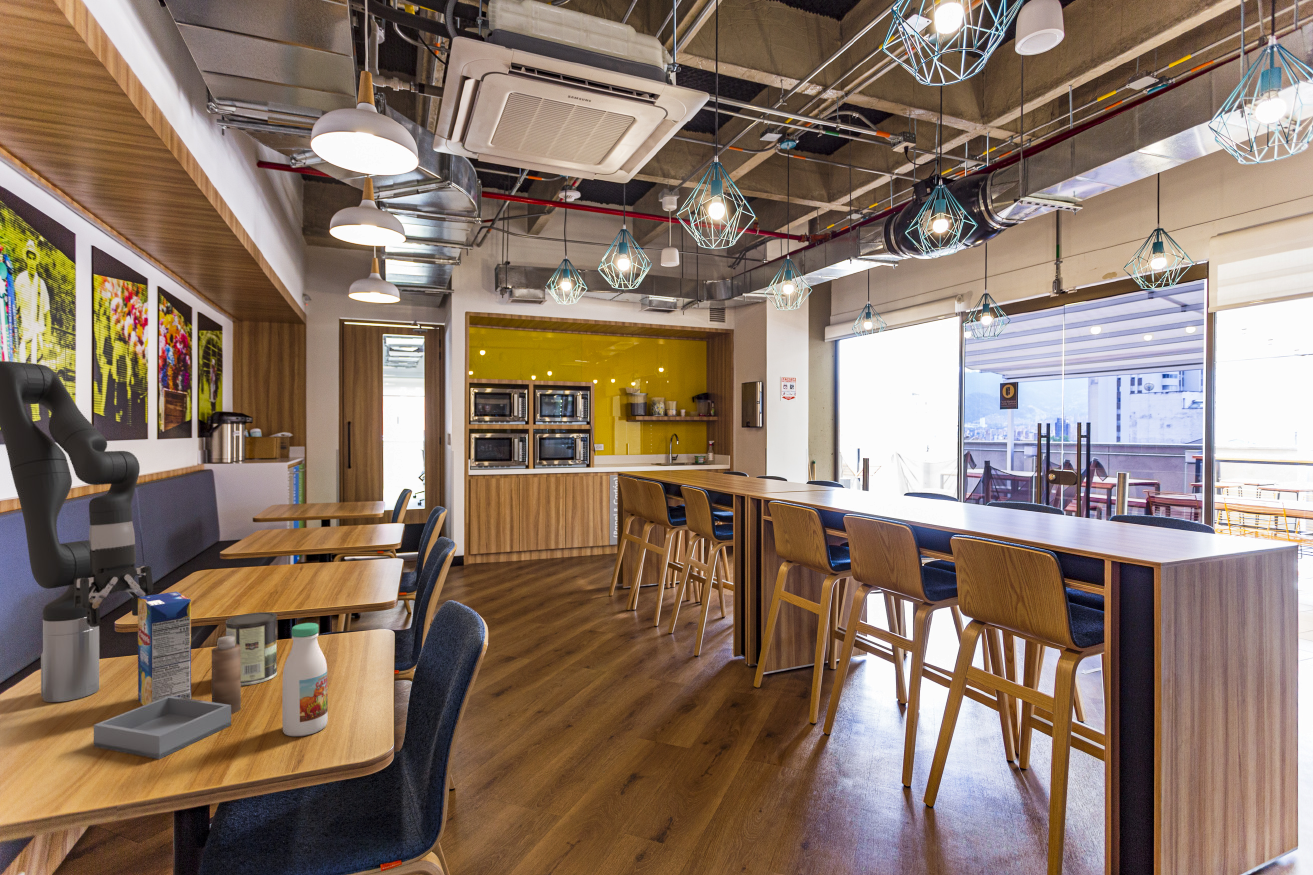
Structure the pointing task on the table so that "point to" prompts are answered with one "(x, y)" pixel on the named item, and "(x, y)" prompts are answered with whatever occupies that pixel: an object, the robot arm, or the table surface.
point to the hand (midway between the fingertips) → (116, 620)
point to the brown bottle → (227, 673)
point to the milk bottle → (305, 684)
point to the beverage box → (164, 647)
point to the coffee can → (255, 645)
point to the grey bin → (162, 726)
